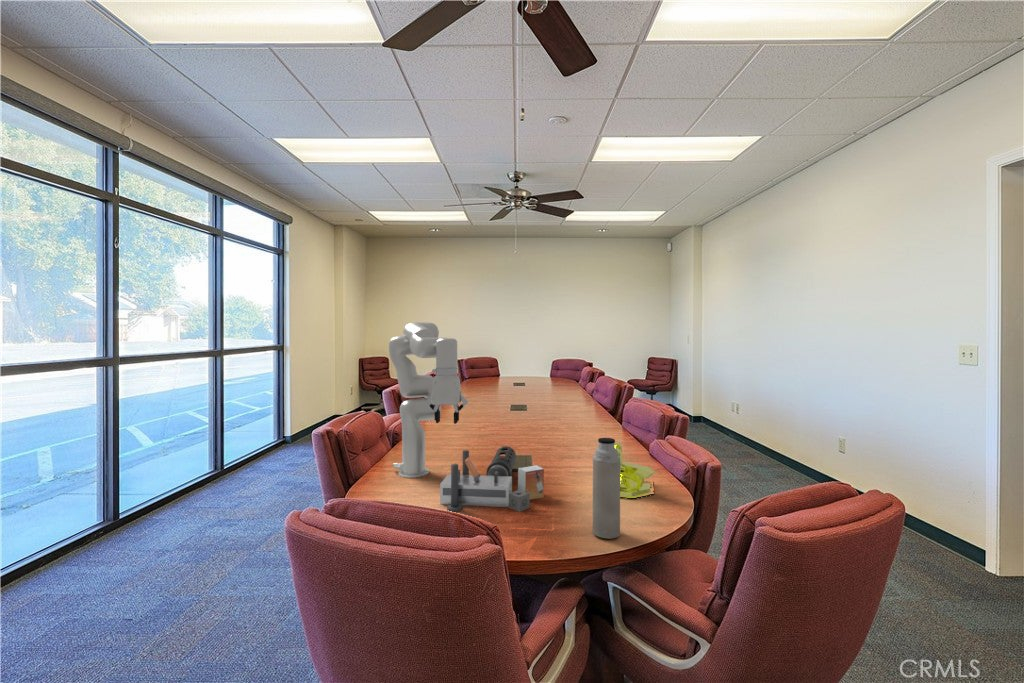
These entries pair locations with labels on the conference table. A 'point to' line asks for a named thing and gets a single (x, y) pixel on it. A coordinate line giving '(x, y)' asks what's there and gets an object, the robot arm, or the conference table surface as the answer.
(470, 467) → the paddle
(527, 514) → the conference table surface
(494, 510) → the conference table surface
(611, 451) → the thermos bottle
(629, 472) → the yellow-green lump
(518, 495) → the dice cube
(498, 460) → the muzzle brake
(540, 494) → the small box
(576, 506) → the conference table surface
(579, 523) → the conference table surface
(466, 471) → the post far
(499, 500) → the breaker panel
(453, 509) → the post near
